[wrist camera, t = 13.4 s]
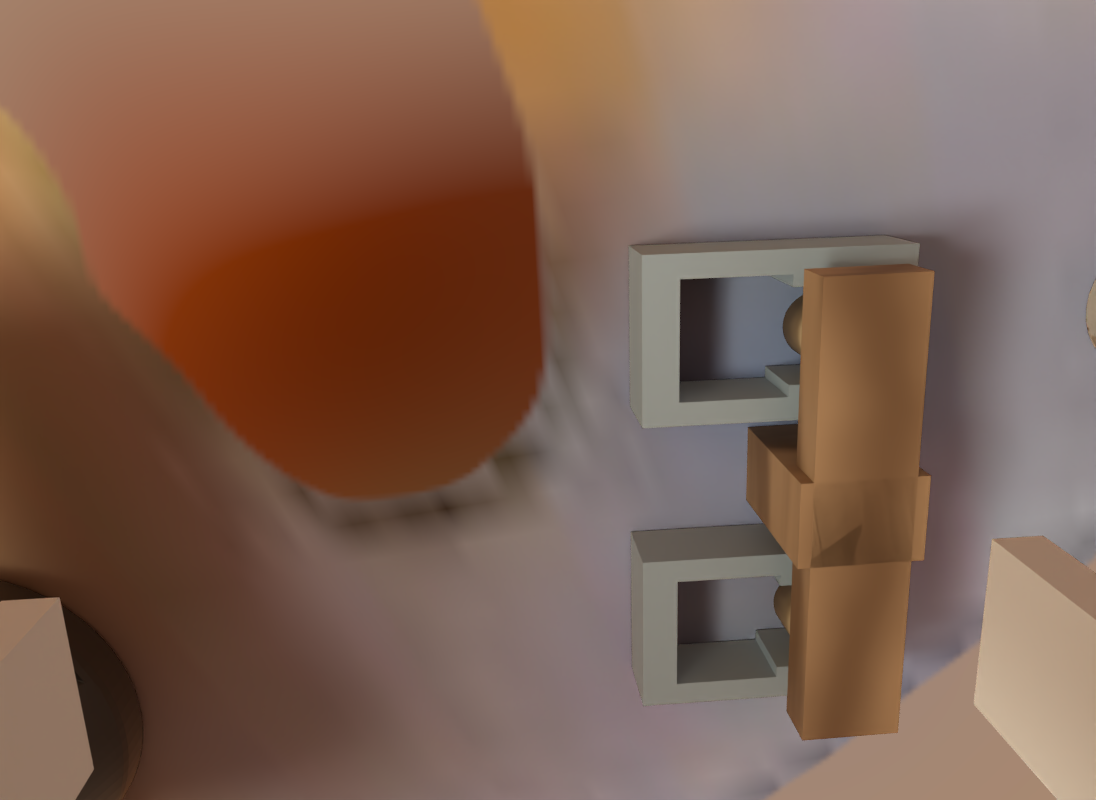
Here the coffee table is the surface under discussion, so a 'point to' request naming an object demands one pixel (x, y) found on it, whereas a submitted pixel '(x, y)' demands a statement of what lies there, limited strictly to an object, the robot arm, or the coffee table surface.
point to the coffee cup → (1091, 314)
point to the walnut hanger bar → (849, 492)
